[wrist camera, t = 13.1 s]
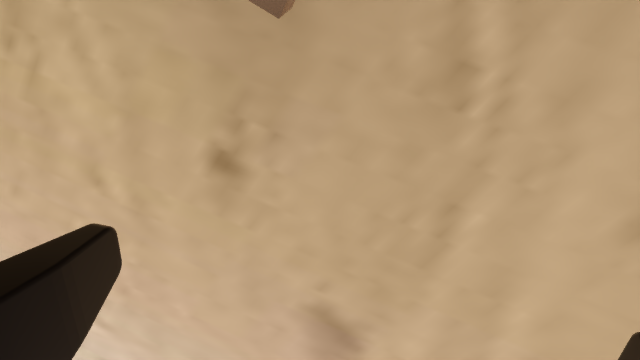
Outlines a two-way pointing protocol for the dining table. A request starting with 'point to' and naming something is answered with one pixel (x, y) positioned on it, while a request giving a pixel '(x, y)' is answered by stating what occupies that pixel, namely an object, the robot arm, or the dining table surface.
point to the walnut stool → (274, 6)
